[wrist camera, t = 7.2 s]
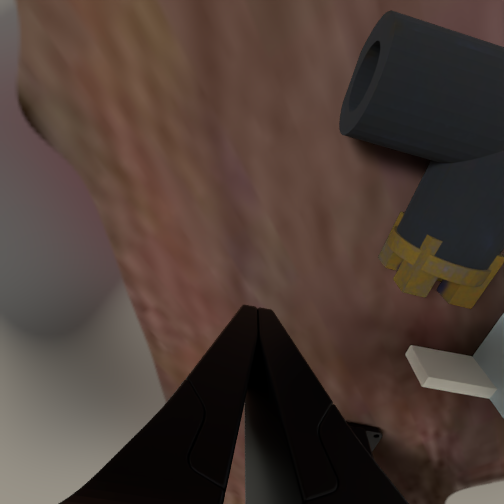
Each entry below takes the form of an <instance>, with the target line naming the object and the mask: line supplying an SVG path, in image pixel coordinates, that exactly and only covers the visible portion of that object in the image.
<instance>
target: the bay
mask: <svg viewBox="0 0 504 504" xmlns="http://www.w3.org/2000/svg"><path fill="white" fill-rule="evenodd" d="M405 355H406V357H407V359H408V361H409V363H410V365H411V367H412V369H413V371H414V373H415V374H416V376H417V378H418V380H419V382H420V384H421V386H422V387H426V388H432V389H437V390H443V391H449V392H454V393H460V394H466V395H471V396H477V397H482V398H488V399H490V400H491V402H492V403H493V404H494V406H495V407H496V409H497V410H498V411H499V413H500V414H501V416H502V417H503V418H504V313H503V315H502V316H501V317H500V319H499V320H498V322H497V323H496V324H495V326H494V327H493V328H492V330H491V331H490V333H489V334H488V335H487V337H486V338H485V340H484V341H483V342H482V344H481V345H480V346H479V348H478V349H477V351H476V352H475V353H474V355H473V356H468V355H462V354H457V353H452V352H446V351H441V350H435V349H430V348H425V347H419V346H414V345H410V347H409V349H408V350H407V352H406V354H405Z"/></svg>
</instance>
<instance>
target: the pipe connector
mask: <svg viewBox="0 0 504 504" xmlns="http://www.w3.org/2000/svg"><path fill="white" fill-rule="evenodd" d="M339 125H340V132H341V134H342V135H345V136H349V137H352V138H356V139H359V140H363V141H366V142H370V143H373V144H376V145H380V146H383V147H387V148H390V149H394V150H397V151H401V152H404V153H408V154H411V155H415V156H418V157H422V158H425V159H429V160H431V161H430V163H429V165H428V167H427V169H426V171H425V173H424V175H423V177H422V179H421V181H420V183H419V185H418V187H417V189H416V191H415V193H414V195H413V197H412V199H411V201H410V203H409V205H408V207H407V209H406V211H405V212H400V214H399V216H398V218H397V220H396V222H395V224H394V226H393V228H392V230H391V232H390V234H389V236H388V238H387V240H386V242H385V244H384V246H383V248H382V250H381V252H380V254H379V256H378V258H379V260H380V261H381V262H382V264H383V265H384V267H385V268H389V269H393V270H397V273H396V275H395V276H394V278H393V280H394V281H395V282H396V284H397V285H398V287H399V288H400V290H401V291H402V292H404V293H408V294H412V295H416V296H420V297H424V298H426V296H427V295H428V293H429V291H430V290H431V288H432V286H433V285H434V283H435V282H436V281H440V282H441V283H440V285H439V286H438V288H437V291H438V292H439V293H440V295H441V296H442V297H443V298H444V299H445V300H446V301H447V302H448V304H452V305H456V306H460V307H464V308H469V309H472V307H473V306H474V304H475V303H476V301H477V300H478V299H479V297H480V296H481V294H482V293H483V291H484V290H485V289H486V287H487V286H488V284H489V283H490V281H491V280H492V279H493V277H494V276H495V274H496V273H497V271H498V270H499V269H500V267H501V266H502V264H503V263H504V256H503V255H501V254H500V253H501V251H502V250H503V249H504V47H501V46H498V45H495V44H492V43H489V42H486V41H483V40H480V39H477V38H474V37H471V36H468V35H465V34H462V33H459V32H456V31H452V30H449V29H446V28H443V27H440V26H437V25H434V24H431V23H428V22H425V21H422V20H419V19H416V18H413V17H410V16H407V15H404V14H400V13H397V12H394V11H388V12H387V13H385V14H384V15H383V16H382V18H381V19H380V20H379V21H378V23H377V24H376V26H375V27H374V29H373V30H372V32H371V34H370V36H369V37H368V39H367V41H366V43H365V45H364V47H363V49H362V51H361V53H360V56H359V59H358V62H357V65H356V67H355V70H354V73H353V76H352V79H351V81H350V84H349V87H348V90H347V93H346V95H345V98H344V101H343V104H342V109H341V114H340V123H339Z"/></svg>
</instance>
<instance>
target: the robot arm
mask: <svg viewBox="0 0 504 504" xmlns="http://www.w3.org/2000/svg"><path fill="white" fill-rule="evenodd" d="M244 402H245V500H246V504H409V503H408V502H407V501H406V500H405V498H404V497H403V496H402V494H401V493H400V492H399V491H398V489H397V488H396V487H395V486H394V484H393V483H392V482H391V481H390V479H389V478H388V477H387V476H386V474H385V473H384V472H383V471H382V469H381V468H380V467H379V466H378V464H377V463H376V462H375V460H374V458H373V454H372V452H373V450H374V448H375V447H376V445H377V444H378V442H379V441H380V439H381V438H382V434H381V431H380V429H377V428H371V427H365V426H359V425H354V424H348V423H347V422H346V421H345V419H344V418H343V417H342V415H341V413H340V412H339V410H338V409H337V407H336V406H335V405H334V404H333V402H332V400H331V399H330V397H329V395H328V394H327V392H326V391H325V389H324V388H323V386H322V385H321V383H320V382H319V380H318V379H317V377H316V376H315V374H314V373H313V371H312V370H311V368H310V367H309V365H308V364H307V362H306V360H305V359H304V357H303V356H302V354H301V353H300V351H299V350H298V348H297V347H296V345H295V344H294V342H293V341H292V339H291V338H290V336H289V335H288V333H287V332H286V330H285V329H284V327H283V326H282V324H281V322H280V321H279V319H278V318H277V316H276V315H275V313H274V312H273V311H272V310H271V309H265V308H258V309H257V308H256V307H254V306H249V305H243V306H241V308H240V309H239V310H238V312H237V313H236V314H235V316H234V317H233V318H232V319H231V321H230V322H229V323H228V325H227V326H226V327H225V329H224V330H223V331H222V332H221V334H220V335H219V336H218V338H217V339H216V340H215V342H214V343H213V344H212V345H211V347H210V348H209V349H208V351H207V352H206V353H205V355H204V356H203V357H202V358H201V360H200V361H199V362H198V364H197V365H196V366H195V367H194V369H193V370H192V371H191V373H190V374H189V375H188V377H187V378H186V380H184V382H183V383H182V384H181V385H180V387H179V388H178V389H177V391H176V392H175V393H174V394H173V395H172V397H171V398H170V399H169V400H168V401H167V403H166V404H165V405H164V406H163V407H162V409H161V410H160V411H159V412H158V413H157V414H156V415H155V416H154V417H153V418H152V419H151V420H150V421H149V422H148V423H147V424H146V425H145V426H144V427H143V428H142V429H141V430H140V431H139V432H138V433H137V434H136V435H135V436H134V437H133V438H132V439H131V440H130V441H129V442H128V443H127V444H126V445H125V446H124V447H123V448H122V449H121V450H120V451H119V452H118V453H117V454H116V455H115V456H114V457H113V458H112V459H111V460H110V461H109V462H108V463H107V464H106V465H105V466H104V467H103V468H102V469H101V470H100V471H99V472H98V473H97V474H96V475H95V476H94V477H93V478H91V480H89V481H88V482H87V483H86V484H85V485H84V486H82V488H80V489H79V490H78V491H76V492H75V493H74V494H72V495H71V496H70V497H68V498H67V499H65V500H64V501H62V502H60V503H59V504H223V502H224V497H225V492H226V488H227V483H228V478H229V474H230V469H231V464H232V459H233V455H234V450H235V445H236V440H237V436H238V431H239V426H240V421H241V417H242V412H243V407H244ZM332 404H333V405H332Z"/></svg>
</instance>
